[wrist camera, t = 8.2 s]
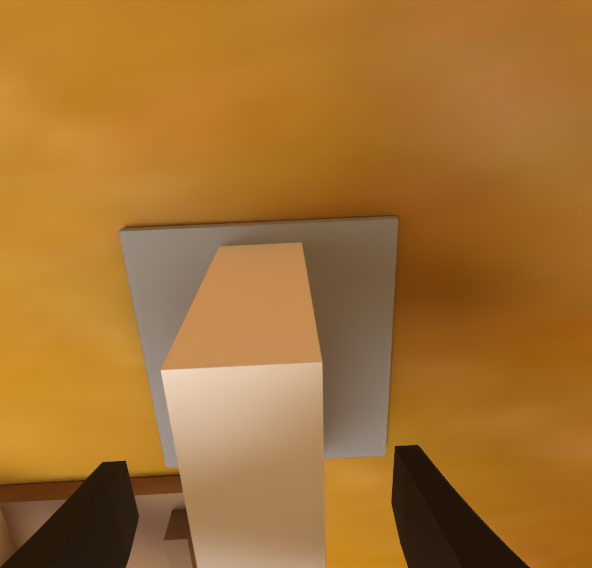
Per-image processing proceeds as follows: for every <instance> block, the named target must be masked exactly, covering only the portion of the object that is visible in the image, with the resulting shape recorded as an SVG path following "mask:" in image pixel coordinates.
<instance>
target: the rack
mask: <svg viewBox="0 0 592 568" xmlns="http://www.w3.org/2000/svg"><path fill="white" fill-rule="evenodd" d="M130 481H131V485H132V489H133V493H134V497H135V501H136V505H137V509H138V513H139V520H138V525H137V529H136V533H135V537H134V541H133V545H132V549H131V553H130V557H129V560H128V563H127V566H126V568H197V564H196V559H195V553H194V548H193V543H192V537H191V532H190V526H189V521H188V516H187V510H186V505H185V499H184V494H183V489H182V483H181V478H180V476H164V477H146V478H130ZM83 482H84V481H74V482H56V483H38V484H20V485H3V486H0V509H1V511H2V514H3V516H4V518H5V521H6V523H7V526H8V528H9V531H10V533H11V535H12V538H13V540H14V543H15V545H16V547H17V550H18V549H19V548H20V547H21V546H22V545H23V544H24V543H25V542H26V541H27V540H28V539H29V538H30V537H31V536H32V535H33V534H34V533H35V532H36V531H37V530H38V529H39V528H40V527H41V526H42V525H43V524H44V523H45V522H46V521H47V520H48V519H49V518H50V517H51V516H52V515H53V514H54V513H55V512H56V511H57V510H58V509H59V508H60V507H61V506H62V505H63V503H64V502H65V501H66V500H67V499H68V498H69V497H70V496H71V495H72V494H73V493H74V492H75V491H76V490H77V489H78V488H79V486H80V485H81V484H82V483H83Z"/></svg>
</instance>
